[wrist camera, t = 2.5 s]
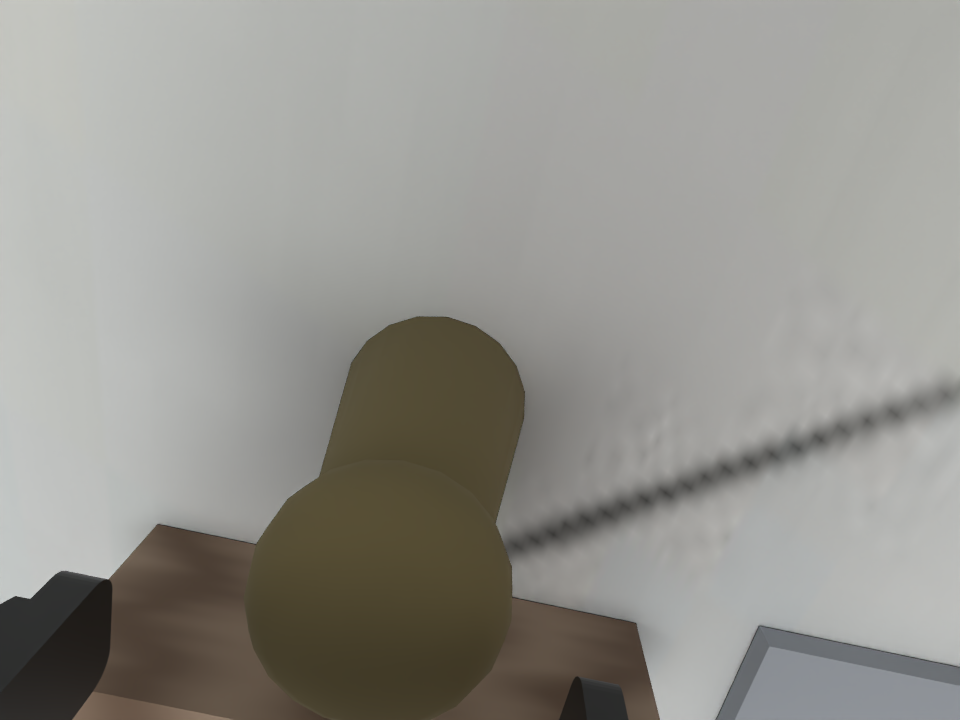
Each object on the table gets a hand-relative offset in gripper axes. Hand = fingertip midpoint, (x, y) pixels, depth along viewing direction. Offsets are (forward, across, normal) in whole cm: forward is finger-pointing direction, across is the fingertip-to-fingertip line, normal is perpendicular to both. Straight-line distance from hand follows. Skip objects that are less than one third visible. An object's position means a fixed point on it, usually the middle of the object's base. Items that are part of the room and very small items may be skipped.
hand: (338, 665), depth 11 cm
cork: (+11, 0, 0) cm, 11 cm away
